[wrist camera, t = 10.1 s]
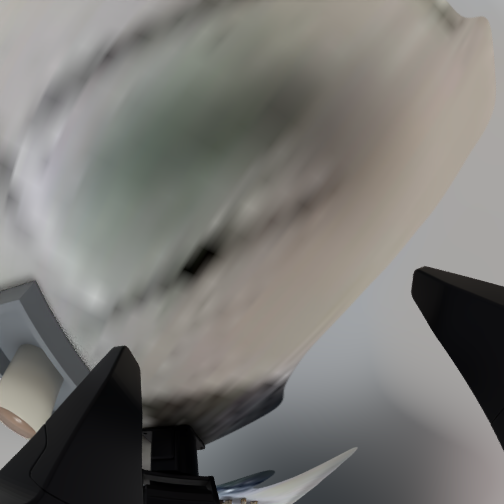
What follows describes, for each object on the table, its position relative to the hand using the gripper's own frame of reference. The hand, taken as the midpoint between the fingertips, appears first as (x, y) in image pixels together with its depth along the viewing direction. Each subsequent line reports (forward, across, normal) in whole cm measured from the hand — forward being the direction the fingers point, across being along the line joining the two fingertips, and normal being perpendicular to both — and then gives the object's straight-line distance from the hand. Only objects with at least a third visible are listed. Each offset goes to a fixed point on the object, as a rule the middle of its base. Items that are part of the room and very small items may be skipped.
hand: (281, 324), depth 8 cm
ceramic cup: (+11, +23, +10) cm, 28 cm away
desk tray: (+12, +23, +10) cm, 28 cm away
